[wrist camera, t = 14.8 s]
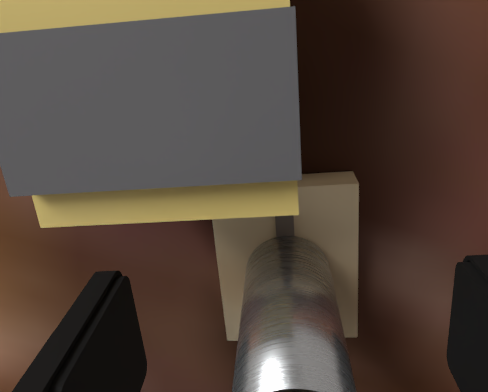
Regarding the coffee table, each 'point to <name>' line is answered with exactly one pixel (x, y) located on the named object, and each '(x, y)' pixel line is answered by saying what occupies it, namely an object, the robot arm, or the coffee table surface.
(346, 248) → the beige striped flat block
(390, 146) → the coffee table surface
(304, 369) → the shiny grey cylinder
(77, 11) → the yellow and grey block
